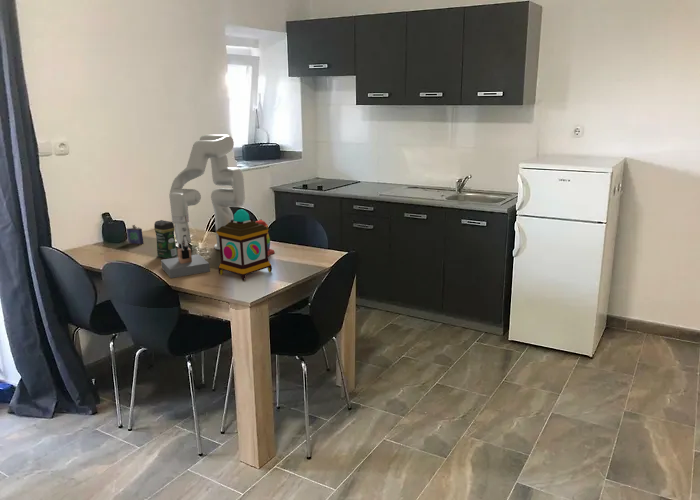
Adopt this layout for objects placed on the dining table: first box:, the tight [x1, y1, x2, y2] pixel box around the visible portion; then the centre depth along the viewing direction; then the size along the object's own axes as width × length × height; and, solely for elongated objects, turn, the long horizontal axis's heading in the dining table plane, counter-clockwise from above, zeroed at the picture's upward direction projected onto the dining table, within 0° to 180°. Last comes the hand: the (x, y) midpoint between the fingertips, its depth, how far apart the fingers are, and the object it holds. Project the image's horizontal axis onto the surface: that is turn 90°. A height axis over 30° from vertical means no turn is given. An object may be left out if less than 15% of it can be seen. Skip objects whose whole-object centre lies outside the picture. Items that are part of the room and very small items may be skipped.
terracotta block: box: [176, 247, 192, 264], centre depth 272 cm, size 5×5×6 cm
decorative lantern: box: [215, 208, 273, 282], centre depth 262 cm, size 20×20×30 cm
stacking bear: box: [255, 219, 276, 258], centre depth 293 cm, size 11×10×18 cm
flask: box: [125, 224, 144, 246], centre depth 320 cm, size 9×3×11 cm, turn 76°
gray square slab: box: [160, 253, 211, 279], centre depth 273 cm, size 18×18×4 cm
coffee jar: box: [153, 219, 178, 259], centre depth 293 cm, size 10×8×19 cm
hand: (184, 256), depth 272 cm, fingers closed on terracotta block, 5 cm apart
